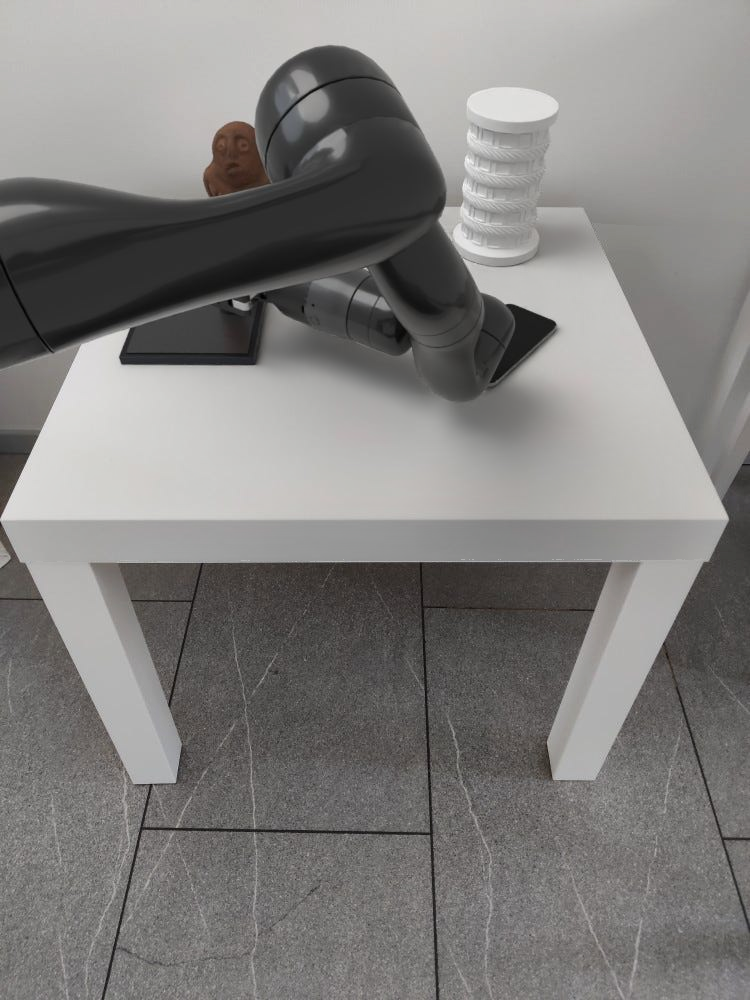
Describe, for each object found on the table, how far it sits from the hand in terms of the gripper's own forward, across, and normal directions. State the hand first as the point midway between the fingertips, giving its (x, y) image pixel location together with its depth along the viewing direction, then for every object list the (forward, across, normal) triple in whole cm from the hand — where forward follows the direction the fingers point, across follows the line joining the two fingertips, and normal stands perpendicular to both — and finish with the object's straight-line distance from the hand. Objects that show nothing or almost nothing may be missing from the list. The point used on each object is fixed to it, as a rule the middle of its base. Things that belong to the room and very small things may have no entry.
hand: (214, 251), depth 87 cm
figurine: (+10, -16, +8) cm, 21 cm away
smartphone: (-31, -12, +8) cm, 34 cm away
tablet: (+2, +2, +8) cm, 9 cm away
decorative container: (-20, -33, +8) cm, 39 cm away
